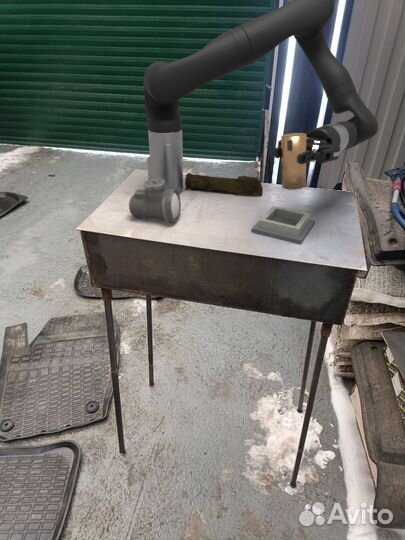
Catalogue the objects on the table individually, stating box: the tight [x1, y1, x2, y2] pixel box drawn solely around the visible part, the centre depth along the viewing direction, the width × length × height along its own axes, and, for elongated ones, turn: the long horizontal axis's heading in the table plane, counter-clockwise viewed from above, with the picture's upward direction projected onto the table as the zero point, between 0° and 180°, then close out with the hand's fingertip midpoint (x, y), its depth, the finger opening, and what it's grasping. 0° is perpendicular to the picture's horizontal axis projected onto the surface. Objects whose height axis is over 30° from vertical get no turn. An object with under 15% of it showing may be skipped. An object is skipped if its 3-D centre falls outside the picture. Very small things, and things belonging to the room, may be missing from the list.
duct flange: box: [250, 205, 316, 245], centre depth 92 cm, size 12×12×3 cm
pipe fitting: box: [128, 178, 182, 223], centre depth 94 cm, size 12×8×10 cm
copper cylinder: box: [280, 132, 308, 191], centre depth 83 cm, size 5×5×11 cm
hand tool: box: [184, 172, 264, 197], centre depth 110 cm, size 23×5×6 cm, turn 72°
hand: (288, 156), depth 81 cm, fingers closed on copper cylinder, 5 cm apart
